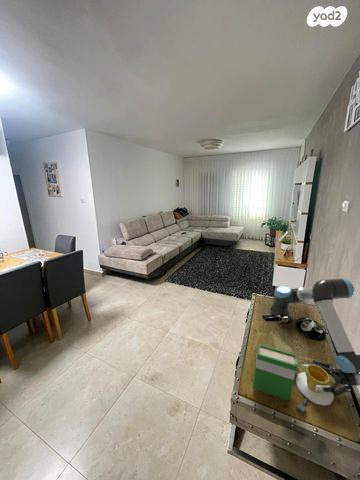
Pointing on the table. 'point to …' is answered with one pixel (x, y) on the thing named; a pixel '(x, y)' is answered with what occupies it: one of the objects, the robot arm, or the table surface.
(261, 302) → the table surface
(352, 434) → the table surface
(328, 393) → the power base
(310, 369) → the plant pot
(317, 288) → the robot arm
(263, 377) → the hardback book
